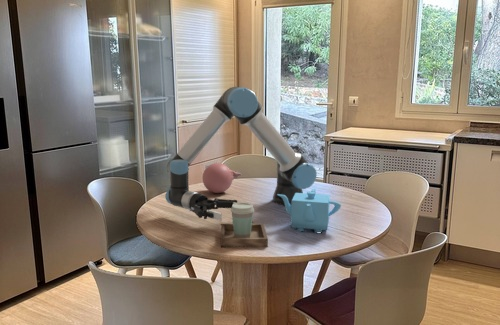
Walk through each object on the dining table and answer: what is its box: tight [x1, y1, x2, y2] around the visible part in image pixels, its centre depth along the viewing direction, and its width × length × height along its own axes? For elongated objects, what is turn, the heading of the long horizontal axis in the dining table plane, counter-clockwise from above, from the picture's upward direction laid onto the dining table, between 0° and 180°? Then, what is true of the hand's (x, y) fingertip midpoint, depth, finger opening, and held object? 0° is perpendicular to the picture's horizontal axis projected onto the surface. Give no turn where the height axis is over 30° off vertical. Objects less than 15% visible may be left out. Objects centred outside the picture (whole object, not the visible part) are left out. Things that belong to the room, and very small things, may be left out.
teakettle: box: [277, 188, 342, 233], centre depth 172 cm, size 19×19×15 cm
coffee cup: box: [230, 202, 255, 238], centre depth 160 cm, size 8×8×12 cm
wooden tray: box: [220, 222, 269, 248], centre depth 161 cm, size 16×16×3 cm
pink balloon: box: [201, 162, 242, 194], centre depth 224 cm, size 15×20×15 cm
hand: (233, 212), depth 163 cm, fingers open, 13 cm apart
